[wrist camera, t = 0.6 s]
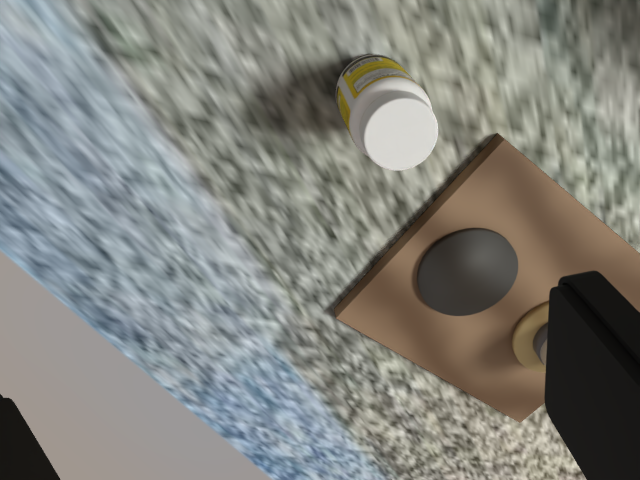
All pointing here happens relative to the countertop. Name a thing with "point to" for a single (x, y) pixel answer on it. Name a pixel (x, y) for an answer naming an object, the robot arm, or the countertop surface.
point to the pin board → (487, 278)
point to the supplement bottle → (386, 112)
